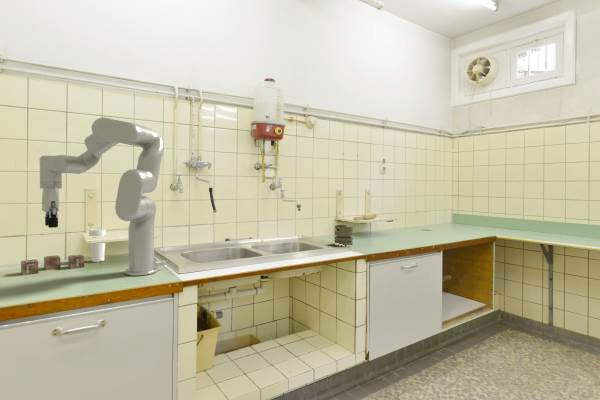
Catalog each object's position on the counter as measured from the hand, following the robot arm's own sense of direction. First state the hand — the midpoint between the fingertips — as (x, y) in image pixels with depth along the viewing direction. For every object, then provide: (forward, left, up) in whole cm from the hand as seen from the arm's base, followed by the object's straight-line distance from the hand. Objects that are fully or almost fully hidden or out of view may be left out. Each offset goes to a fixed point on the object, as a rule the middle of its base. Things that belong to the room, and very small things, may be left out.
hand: (51, 226), depth 147 cm
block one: (-8, +4, -18) cm, 20 cm away
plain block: (0, 0, -18) cm, 18 cm away
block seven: (+8, +4, -18) cm, 20 cm away
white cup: (-18, -3, -18) cm, 26 cm away
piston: (-144, +42, -18) cm, 151 cm away
